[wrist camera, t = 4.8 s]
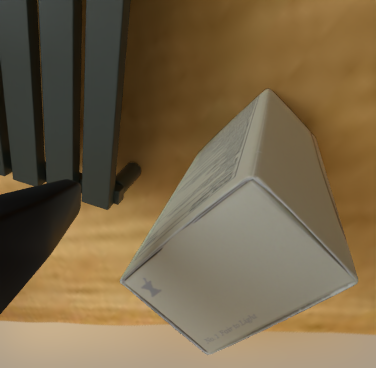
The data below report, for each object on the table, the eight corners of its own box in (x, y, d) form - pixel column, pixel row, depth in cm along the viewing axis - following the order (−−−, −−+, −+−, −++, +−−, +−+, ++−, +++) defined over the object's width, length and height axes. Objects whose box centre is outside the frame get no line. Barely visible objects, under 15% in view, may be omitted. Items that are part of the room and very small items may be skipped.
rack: (178, -107, 15) (107, -187, 9) (140, 179, 23) (90, 238, 17) (-40, -147, 17) (-226, -239, 11) (-4, 134, 25) (-97, 174, 19)
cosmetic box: (241, 195, 22) (205, 362, 11) (195, 150, 21) (111, 284, 11) (320, 135, 19) (369, 290, 8) (268, 80, 18) (251, 173, 8)
